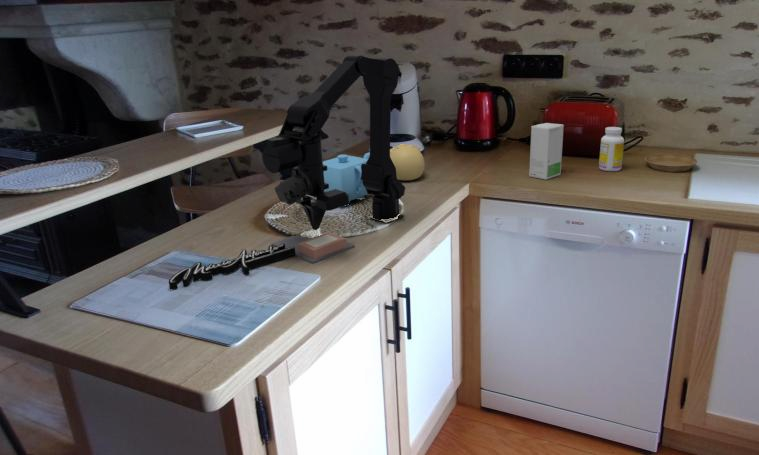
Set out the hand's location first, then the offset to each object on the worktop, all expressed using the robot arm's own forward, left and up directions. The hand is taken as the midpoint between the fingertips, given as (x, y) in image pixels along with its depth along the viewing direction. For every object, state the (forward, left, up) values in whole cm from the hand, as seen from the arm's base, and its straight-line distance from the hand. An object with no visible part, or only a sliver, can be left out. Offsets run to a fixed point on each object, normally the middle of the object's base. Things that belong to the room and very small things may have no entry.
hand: (315, 229), depth 132 cm
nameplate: (+19, -5, -5) cm, 20 cm away
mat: (0, -2, -5) cm, 5 cm away
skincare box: (-81, +9, -5) cm, 82 cm away
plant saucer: (-112, +34, -5) cm, 117 cm away
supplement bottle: (-99, +21, -5) cm, 101 cm away
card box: (0, -1, -3) cm, 3 cm away
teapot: (-30, -22, -5) cm, 37 cm away
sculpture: (-53, -23, -5) cm, 58 cm away
